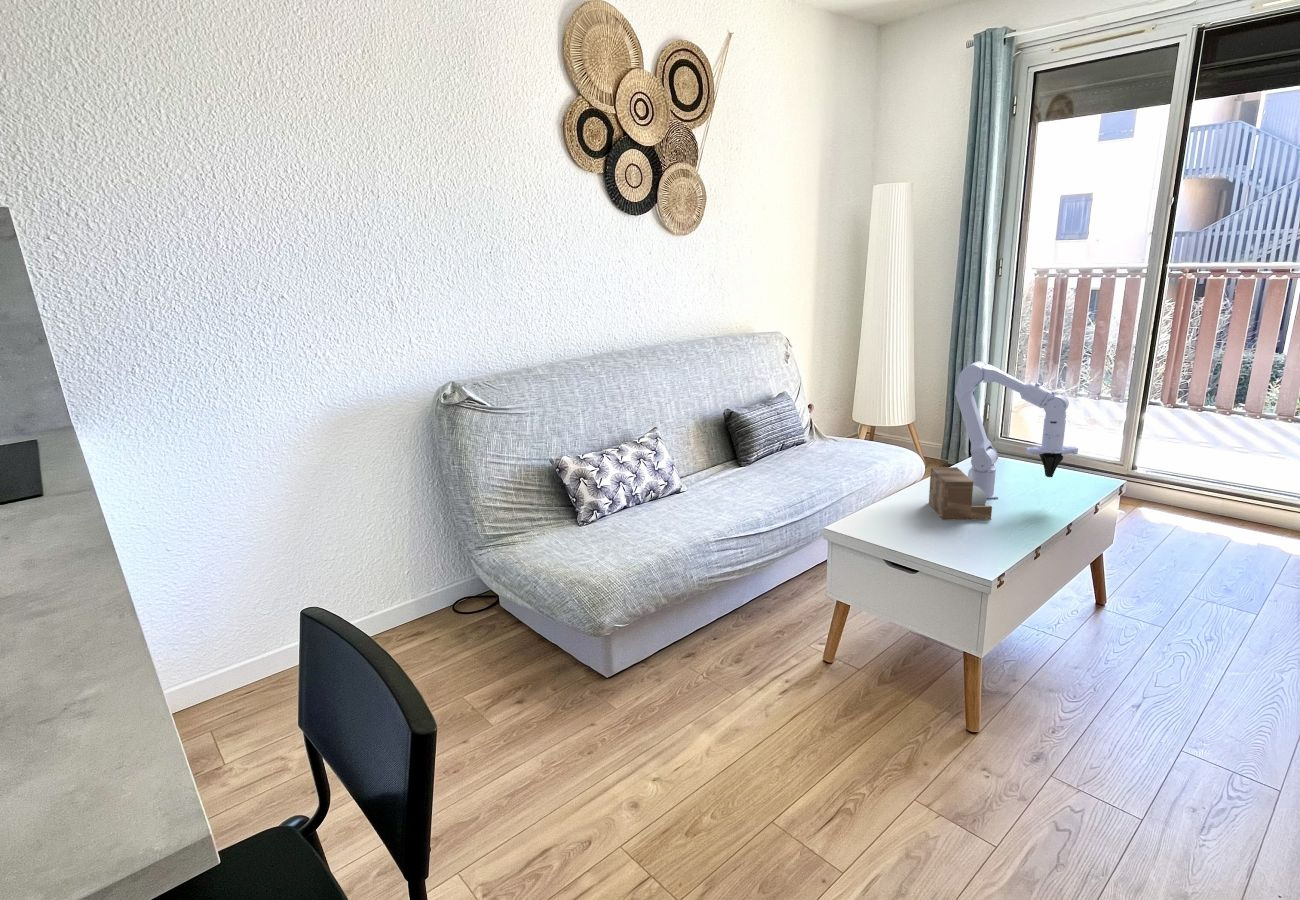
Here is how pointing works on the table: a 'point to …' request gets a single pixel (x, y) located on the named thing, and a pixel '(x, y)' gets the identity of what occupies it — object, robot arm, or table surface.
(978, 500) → the ceramic mug
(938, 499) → the stepped wooden block
